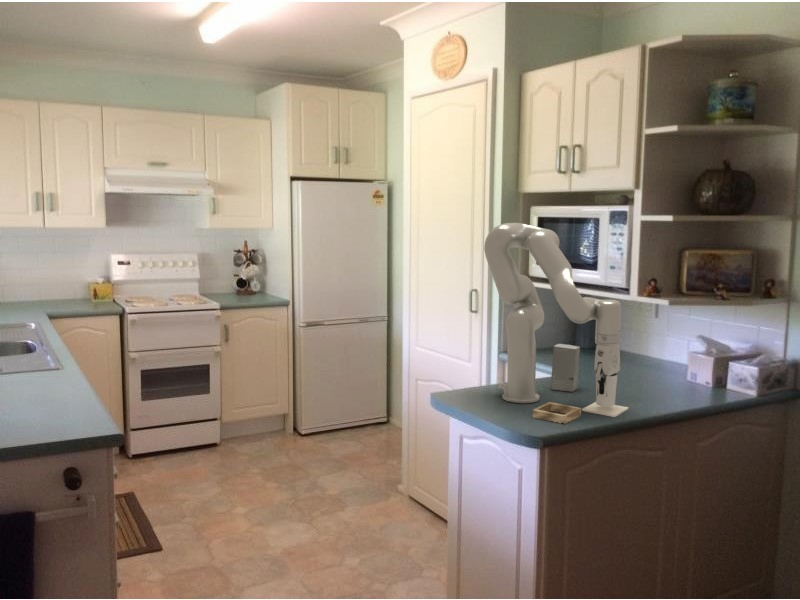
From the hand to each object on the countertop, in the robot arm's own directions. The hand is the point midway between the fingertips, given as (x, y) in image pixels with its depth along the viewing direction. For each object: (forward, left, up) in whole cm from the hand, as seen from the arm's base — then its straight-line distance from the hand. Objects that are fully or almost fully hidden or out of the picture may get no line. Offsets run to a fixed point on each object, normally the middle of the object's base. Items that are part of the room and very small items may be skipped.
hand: (605, 394), depth 231 cm
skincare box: (-22, +16, -5) cm, 28 cm away
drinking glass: (0, 0, -4) cm, 4 cm away
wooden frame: (-9, -16, -5) cm, 19 cm away
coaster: (0, 0, -5) cm, 5 cm away
